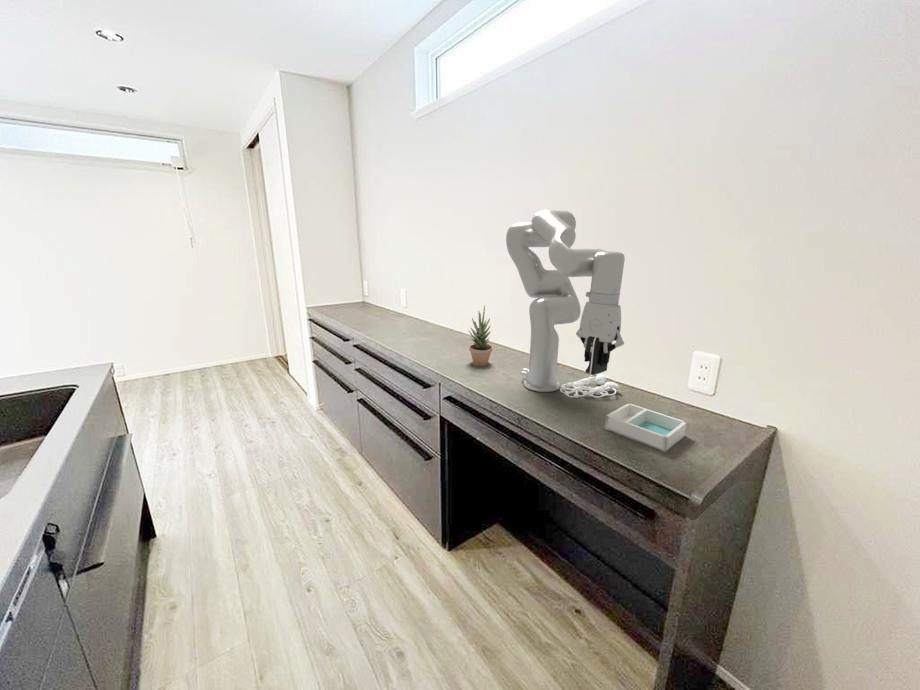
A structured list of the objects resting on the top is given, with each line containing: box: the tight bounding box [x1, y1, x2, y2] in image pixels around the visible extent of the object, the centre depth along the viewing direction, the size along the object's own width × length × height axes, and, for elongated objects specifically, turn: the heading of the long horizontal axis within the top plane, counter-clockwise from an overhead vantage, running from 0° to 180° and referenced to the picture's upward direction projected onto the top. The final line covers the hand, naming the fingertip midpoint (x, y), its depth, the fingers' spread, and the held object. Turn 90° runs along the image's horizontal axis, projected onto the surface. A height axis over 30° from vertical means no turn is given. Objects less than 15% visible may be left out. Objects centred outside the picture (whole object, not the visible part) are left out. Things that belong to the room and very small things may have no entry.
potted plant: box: [468, 304, 493, 367], centre depth 157 cm, size 10×10×25 cm
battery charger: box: [585, 336, 608, 376], centre depth 108 cm, size 7×4×11 cm, turn 125°
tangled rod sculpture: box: [559, 373, 620, 399], centre depth 131 cm, size 19×14×4 cm
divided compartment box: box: [603, 402, 688, 453], centre depth 104 cm, size 16×13×4 cm
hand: (595, 362), depth 109 cm, fingers closed on battery charger, 4 cm apart
